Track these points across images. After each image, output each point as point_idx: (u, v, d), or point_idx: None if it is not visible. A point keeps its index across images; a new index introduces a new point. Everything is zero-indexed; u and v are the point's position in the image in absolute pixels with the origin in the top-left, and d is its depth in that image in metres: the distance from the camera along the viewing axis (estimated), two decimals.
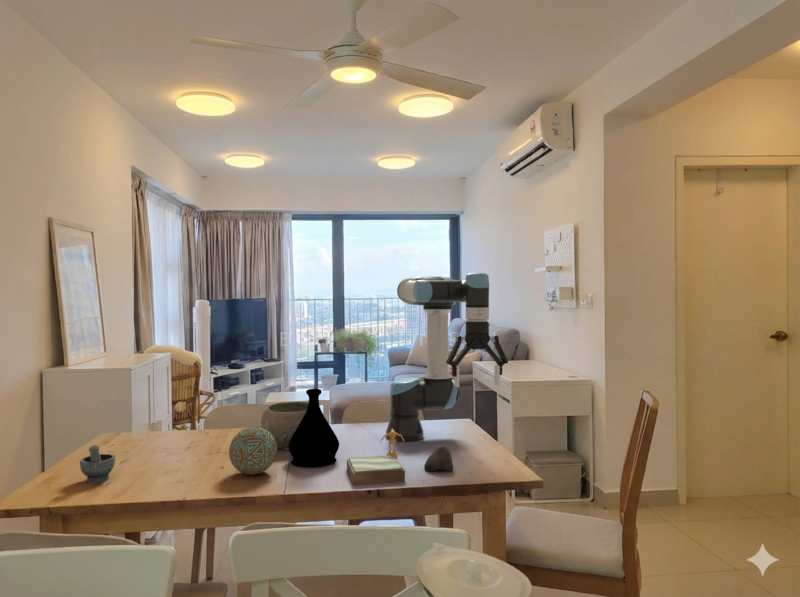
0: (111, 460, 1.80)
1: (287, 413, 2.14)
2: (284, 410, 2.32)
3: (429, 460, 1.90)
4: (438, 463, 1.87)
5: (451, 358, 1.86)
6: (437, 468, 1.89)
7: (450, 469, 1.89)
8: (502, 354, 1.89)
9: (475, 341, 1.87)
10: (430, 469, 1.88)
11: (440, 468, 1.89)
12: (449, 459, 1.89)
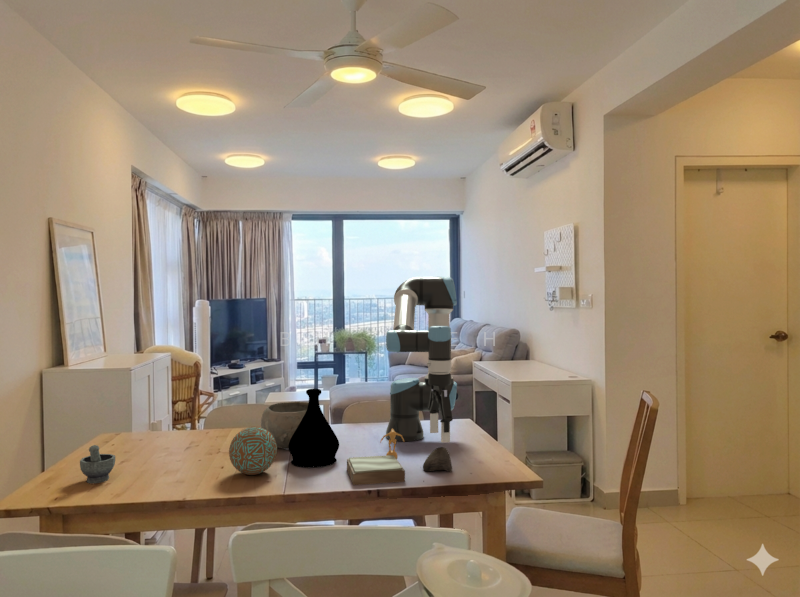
0: (111, 460, 1.80)
1: (287, 413, 2.14)
2: (284, 410, 2.32)
3: (428, 460, 1.90)
4: (437, 463, 1.87)
5: (429, 404, 2.00)
6: (436, 468, 1.89)
7: (449, 469, 1.89)
8: (443, 410, 1.83)
9: (432, 392, 1.92)
10: (429, 469, 1.88)
11: (439, 468, 1.89)
12: (448, 459, 1.89)
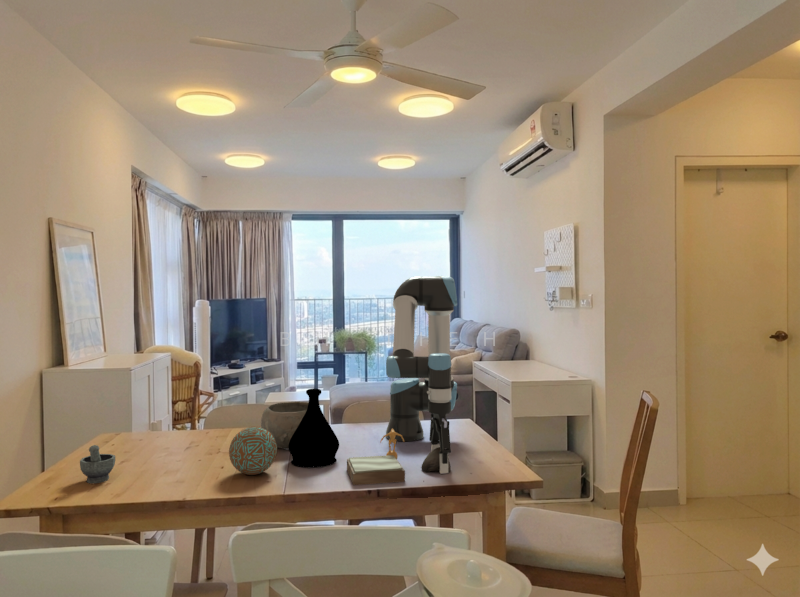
0: (111, 460, 1.80)
1: (287, 413, 2.14)
2: (284, 410, 2.32)
3: (426, 460, 1.89)
4: (435, 463, 1.87)
5: (430, 434, 1.99)
6: (434, 468, 1.89)
7: None
8: (442, 442, 1.85)
9: (432, 419, 1.93)
10: (427, 469, 1.88)
11: (437, 468, 1.89)
12: None
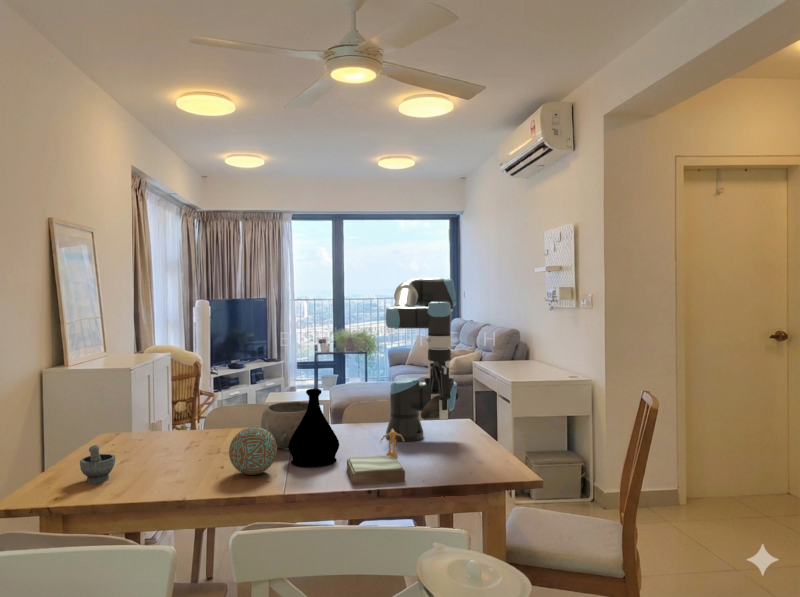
0: (111, 460, 1.80)
1: (287, 413, 2.14)
2: (284, 410, 2.32)
3: (426, 408, 1.89)
4: (435, 410, 1.87)
5: (429, 384, 1.99)
6: (434, 415, 1.88)
7: None
8: (441, 388, 1.85)
9: (432, 368, 1.92)
10: (427, 416, 1.88)
11: (437, 416, 1.89)
12: None
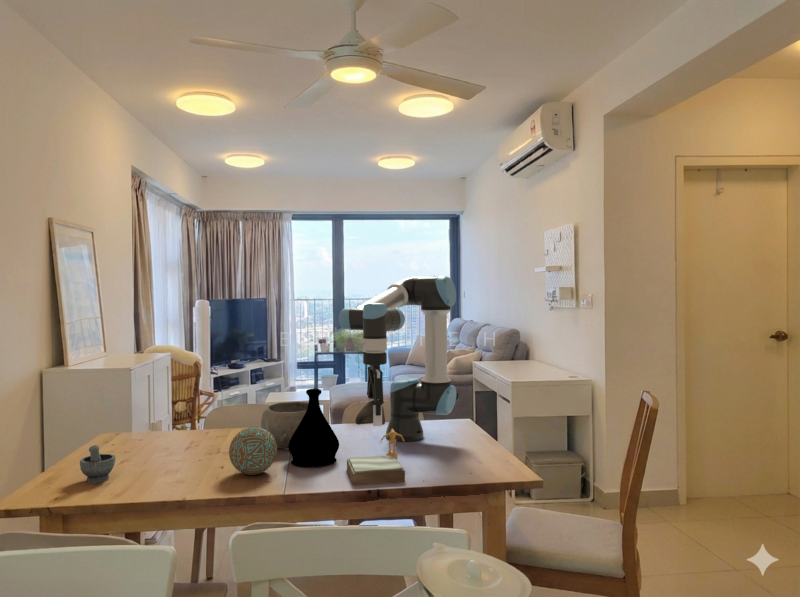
0: (111, 460, 1.80)
1: (287, 413, 2.14)
2: (284, 410, 2.32)
3: (360, 413, 1.83)
4: (368, 415, 1.80)
5: (367, 388, 1.92)
6: (368, 421, 1.82)
7: None
8: (374, 393, 1.78)
9: (368, 371, 1.86)
10: (360, 422, 1.81)
11: (371, 421, 1.82)
12: None
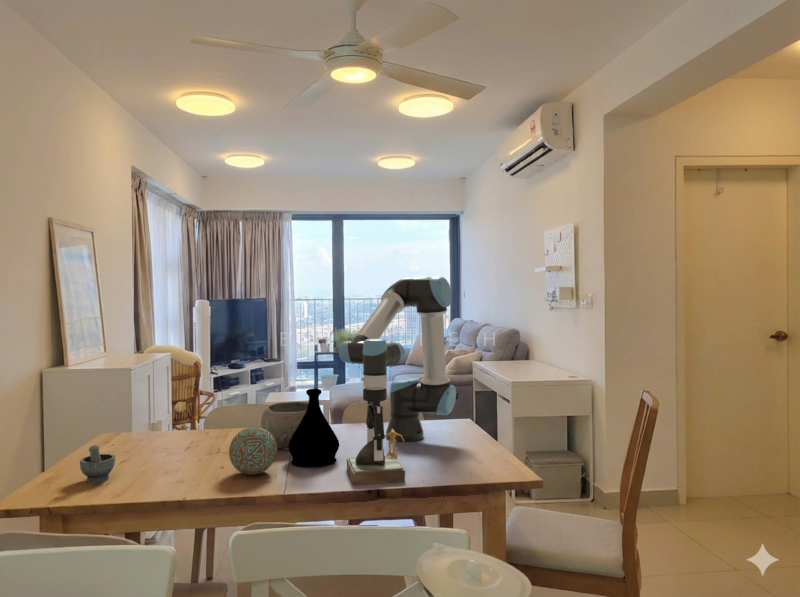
0: (111, 460, 1.80)
1: (287, 413, 2.14)
2: (284, 410, 2.32)
3: (360, 453, 1.83)
4: (369, 456, 1.80)
5: None
6: (368, 461, 1.82)
7: (381, 462, 1.82)
8: (375, 428, 1.77)
9: (368, 407, 1.86)
10: (361, 462, 1.81)
11: (371, 461, 1.83)
12: None
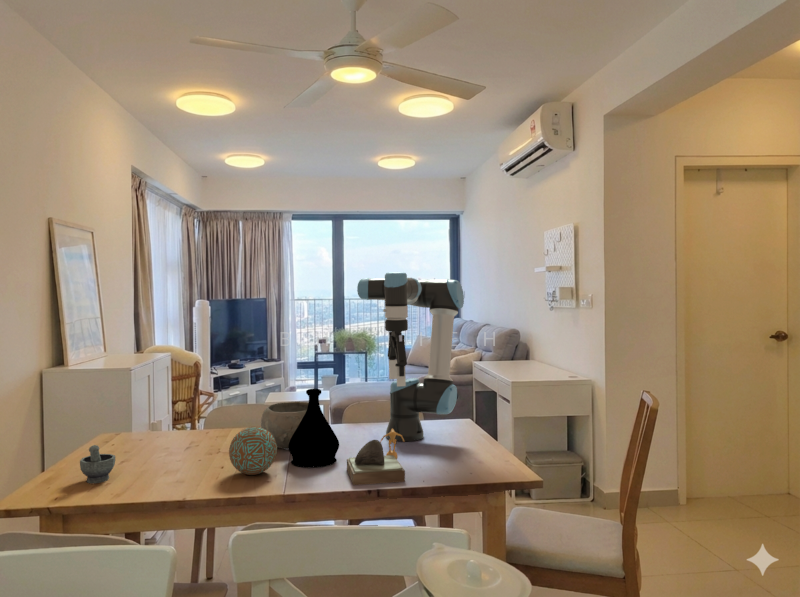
0: (111, 460, 1.80)
1: (287, 413, 2.14)
2: (284, 410, 2.32)
3: (359, 453, 1.83)
4: (368, 456, 1.80)
5: (388, 351, 2.02)
6: (367, 461, 1.82)
7: (381, 462, 1.82)
8: (398, 355, 1.85)
9: (390, 338, 1.94)
10: (360, 463, 1.81)
11: (371, 461, 1.83)
12: (380, 452, 1.82)
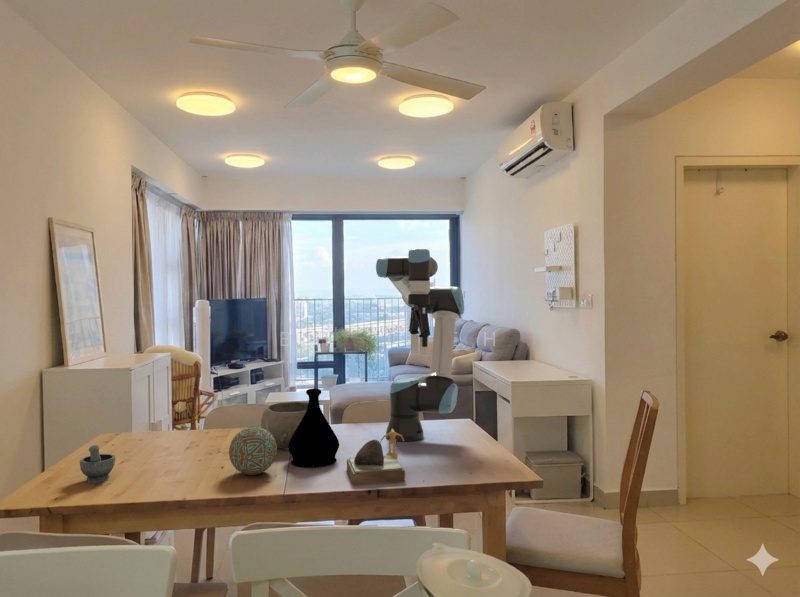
0: (111, 460, 1.80)
1: (287, 413, 2.14)
2: (284, 410, 2.32)
3: (359, 453, 1.83)
4: (367, 456, 1.80)
5: (409, 326, 2.11)
6: (367, 461, 1.82)
7: (380, 462, 1.82)
8: (421, 326, 1.94)
9: (412, 312, 2.03)
10: (359, 463, 1.81)
11: (370, 461, 1.83)
12: (379, 452, 1.82)
